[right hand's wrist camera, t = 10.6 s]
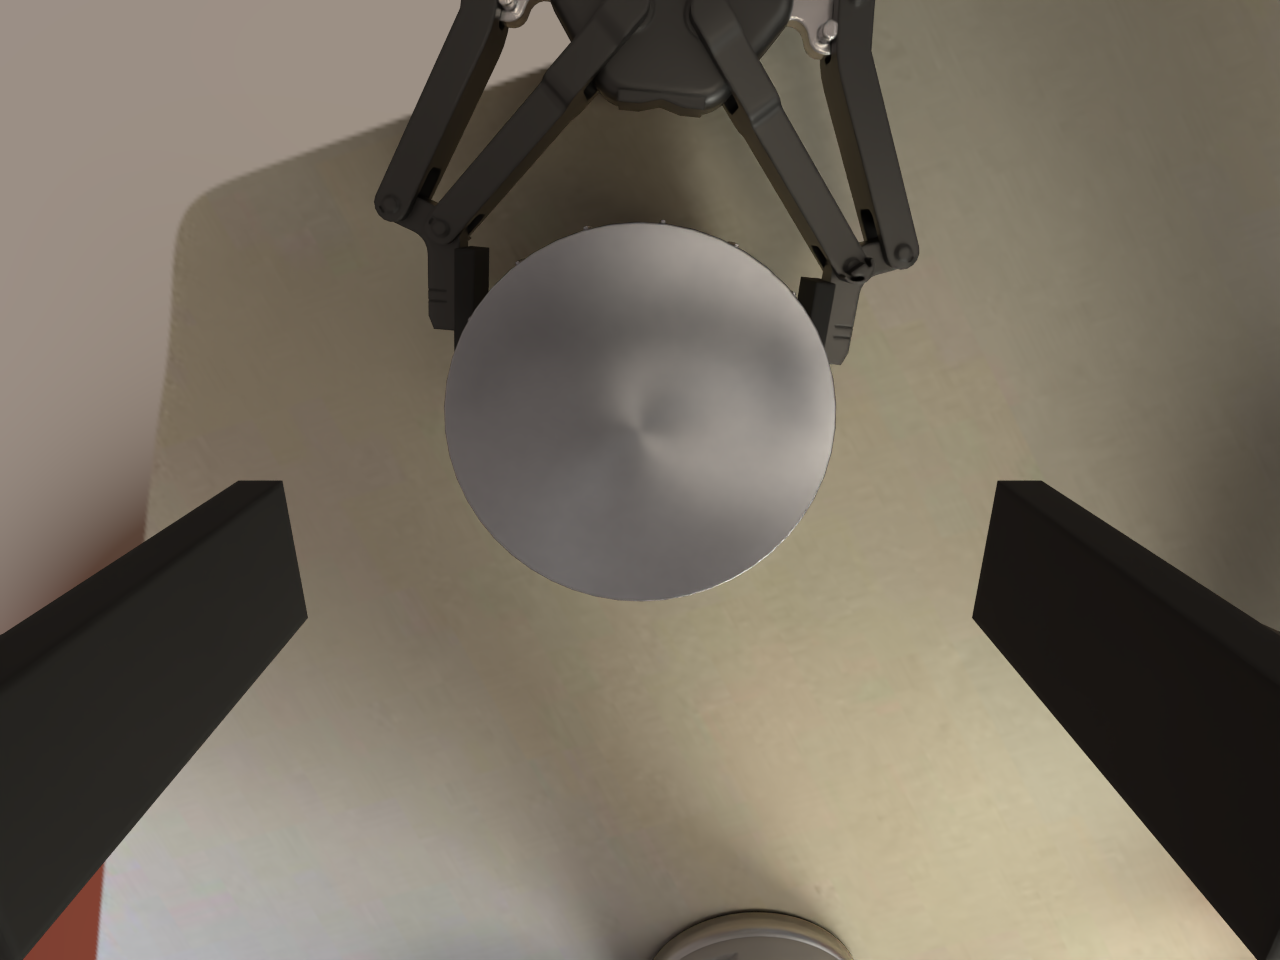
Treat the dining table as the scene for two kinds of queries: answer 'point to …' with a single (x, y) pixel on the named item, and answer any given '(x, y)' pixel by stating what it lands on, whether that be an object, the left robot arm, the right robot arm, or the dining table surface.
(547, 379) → the lid
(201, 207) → the dining table surface
